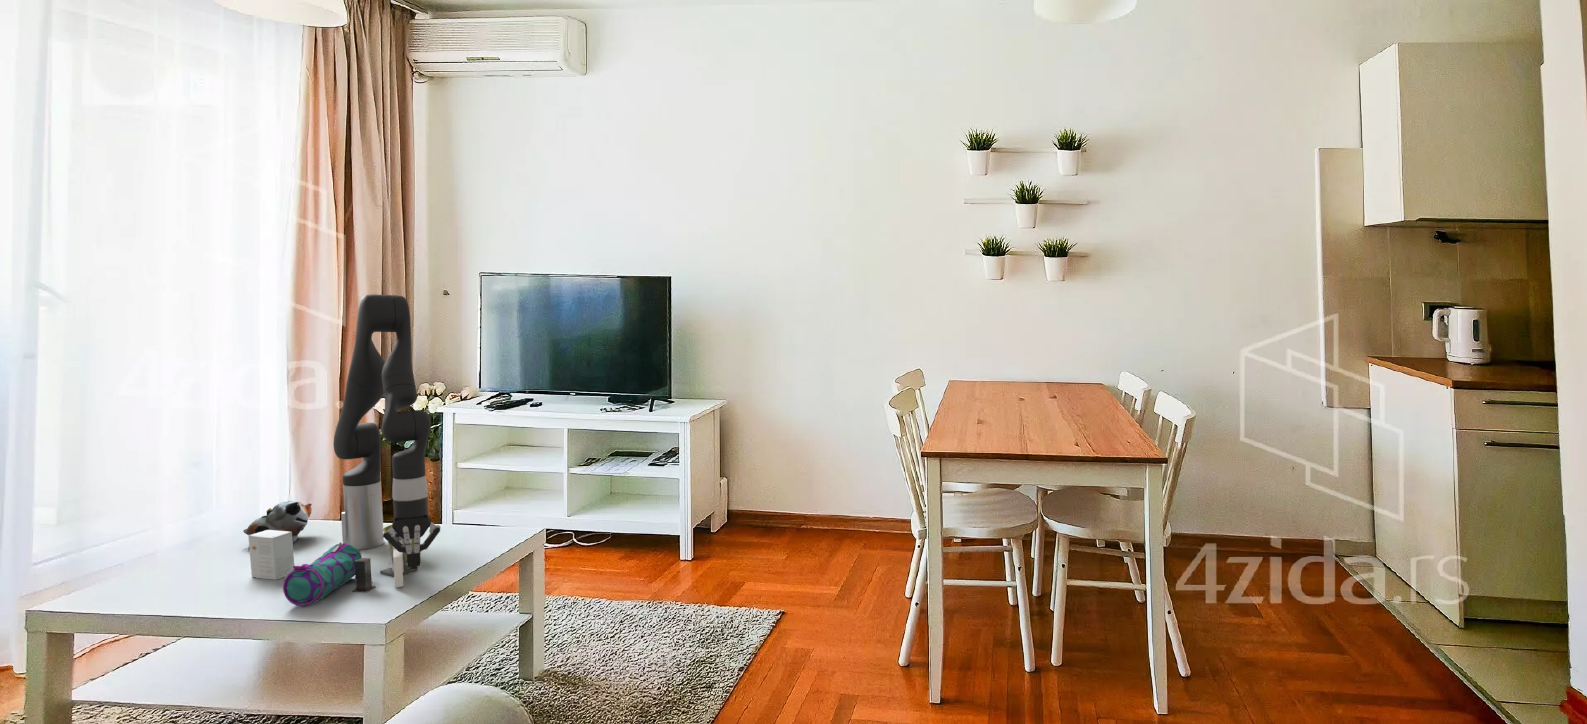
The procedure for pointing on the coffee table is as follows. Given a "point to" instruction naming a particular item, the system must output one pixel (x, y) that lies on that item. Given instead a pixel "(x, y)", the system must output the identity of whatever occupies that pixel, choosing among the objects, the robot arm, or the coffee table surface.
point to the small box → (271, 554)
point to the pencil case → (321, 575)
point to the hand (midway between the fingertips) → (414, 567)
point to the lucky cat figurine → (283, 519)
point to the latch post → (363, 575)
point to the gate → (398, 567)
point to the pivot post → (391, 570)
